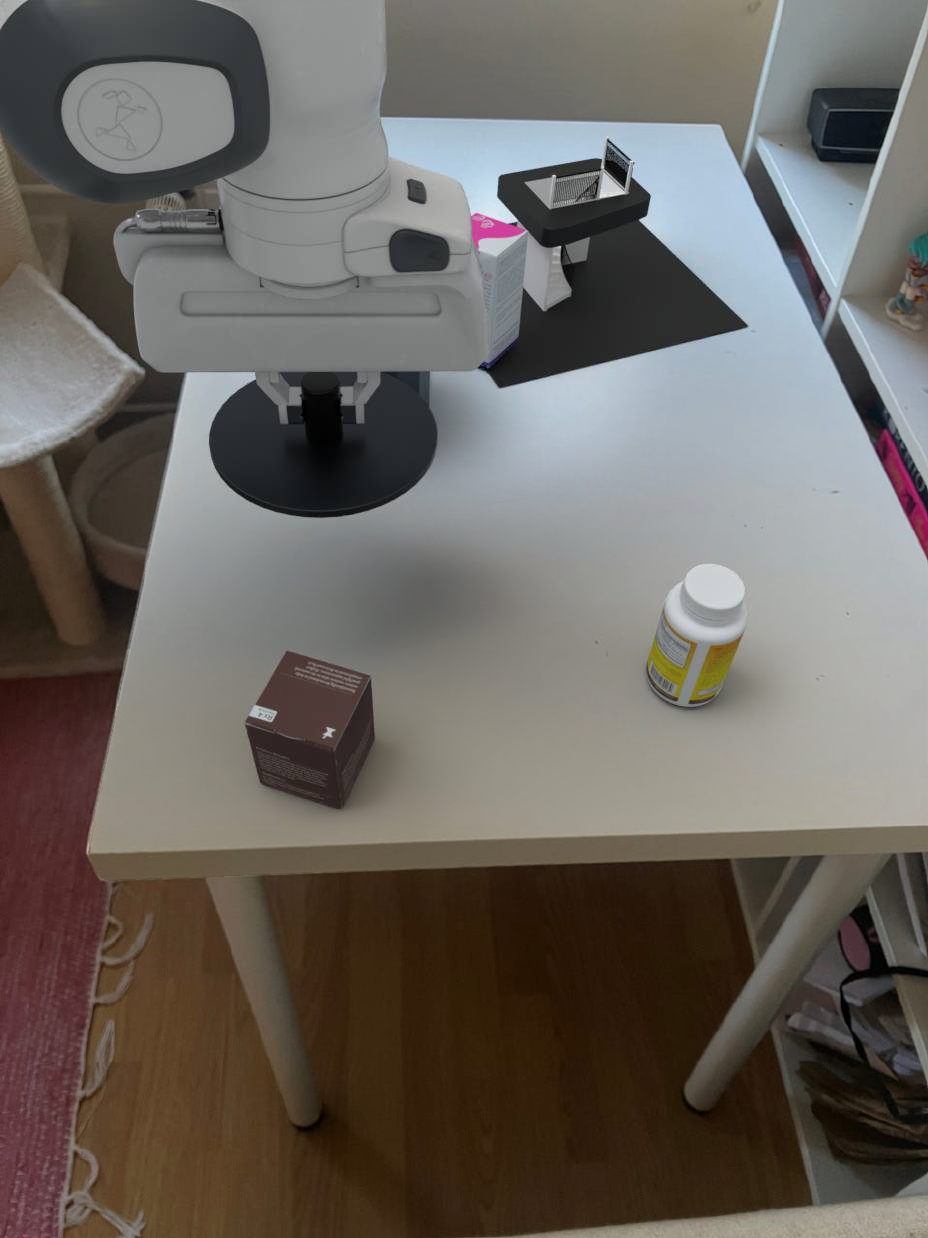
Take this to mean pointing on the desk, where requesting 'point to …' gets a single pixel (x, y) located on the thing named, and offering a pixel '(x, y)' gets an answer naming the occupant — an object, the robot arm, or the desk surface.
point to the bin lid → (323, 447)
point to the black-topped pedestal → (597, 272)
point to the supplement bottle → (697, 636)
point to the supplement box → (501, 280)
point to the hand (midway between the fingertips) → (323, 418)
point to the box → (312, 728)
